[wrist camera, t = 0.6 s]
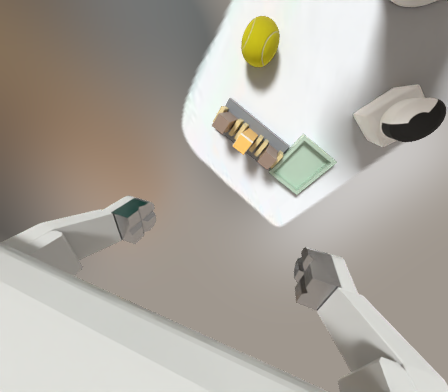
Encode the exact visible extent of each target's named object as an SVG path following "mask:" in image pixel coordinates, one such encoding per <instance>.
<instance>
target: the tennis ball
mask: <svg viewBox="0 0 448 392" xmlns="http://www.w3.org/2000/svg"><path fill="white" fill-rule="evenodd" d="M279 37H280V34H279V30H278V27H277V25H276V24H275V22H274V21H273V20H272V19H270V18H269V17H266V16H259V17H256V18H254V19H253V20H252V21H251V22H250V23H249V24H248V26H247V28H246V29H245V32H244V34H243V38H242V45H241V49H242V54H243V57H244V58H245V60H246V61H247V62H248V63H249V64H250V65H252V66H254V67H263V66H265V65H266V64H268V63H269V62H270V61H271V60H272V58H273V57H274V55H275V53H276V51H277V48H278V45H279Z"/></svg>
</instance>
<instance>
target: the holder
mask: <svg viewBox="0 0 448 392" xmlns="http://www.w3.org/2000/svg"><path fill="white" fill-rule="evenodd" d="M213 122H214V123H213V124H212V126H213V127H214V128H215V129H216V130H218V131H219V132H220V133H221V134H223V135H225V136H226V137H227V138H228V139H230V140H231V141H232V142H233V143H235V141H236V140H237V138H238V137H239V135H240V134H241V133H243V132H244V131H246V130H247V129H248V128H250V129H251V130H253V131H254V132H255V133H256V134H257V135H258V136H257V138H256V139H255V140H254V142H253V143H252V145H251V146H250V147H249V148H248V150H247V151H246V153H247V154H249V155H250V156H251V157H252V158H254V159H255V160H256V161H257V162H258V163H259V164H260V165H262V166H263V167H264V168H265V169H267V170H268V169H269V168H271V169H272V168H273V167H274V166H275V165H276V164H277V163H278V162H279V161H280V160H281V158H282V157H283V153H284V152H285V151H286V150H287V149H288V148H289V145H288V144H287V143H285V142H284V141H283V140H282V139H281V138H279V137H278V136H277V135H276V134H274V133H273V132H272V131H271V130H270V129H268V128H267V127H266V126H265V125H263V124H262V123H261V122H260V121H259V120H257V119H256V118H255V117H254V116H252V115H251V114H250V113H249V112H248V111H246V110H245V109H244V108H243V107H241V106H240V105H239V104H238V103H237V102H235V101H234V100H233V99H232V98H230V99H229V100H228V102H227V104H226V106H221V108H220V110H219V112H218V113H217V115H216V117H215V119H214V121H213Z"/></svg>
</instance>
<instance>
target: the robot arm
mask: <svg viewBox="0 0 448 392" xmlns="http://www.w3.org/2000/svg"><path fill="white" fill-rule="evenodd" d="M390 1H392V2H393V3H395V4H397V5H399V6H403V7H418V6H423V5H427V4H430V3H433V2H435V1H438V0H390ZM153 210H154V204H153V203H151V202H149V201H145V200H142V199H139V198H135V197H132V196H126V197H124V198H122V199H120V200H119V201H117V202H115V203H114V204H112V205H110V206H108V207H107V208H105V209H103V210H96V211H92V212H87V213H83V214H78V215H74V216H70V217H65V218H61V219H57V220H52V221H48V222H44V223H40V224H38V225H36V226H34V227H32V228H30V229H28V230H26V231H24V232H22V233H20V234H18V235H16V236H14V237H12V238H9V239H8V240H6V241H4V242H1V243H0V392H329V391H327V390H325V389H323V388H320V387H318V386H316V385H314V384H312V383H309V382H307V381H305V380H303V379H300V378H298V377H296V376H294V375H292V374H290V373H287V372H285V371H283V370H281V369H279V368H276V367H274V366H272V365H270V364H267V363H265V362H263V361H261V360H259V359H256V358H254V357H252V356H250V355H248V354H245V353H243V352H241V351H239V350H237V349H234V348H232V347H230V346H228V345H225V344H223V343H221V342H219V341H217V340H215V339H212V338H210V337H208V336H206V335H203V334H201V333H199V332H197V331H195V330H193V329H190V328H188V327H186V326H184V325H181V324H179V323H177V322H175V321H173V320H170V319H168V318H166V317H164V316H162V315H159V314H157V313H155V312H152V311H151V310H148V309H146V308H144V307H142V306H139V305H137V304H135V303H133V302H131V301H128V300H126V299H124V298H122V297H120V296H117V295H115V294H113V293H111V292H108V291H106V290H104V289H102V288H100V287H98V286H95V285H93V284H91V283H88V282H86V281H84V280H82V279H80V278H78V277H76V276H75V275H76V274H77V273H78V272H79V271H81V270H82V267H83V266H82V265H81V263H80V261H79V260H81V259H83V258H85V257H87V256H90V255H92V254H94V253H96V252H98V251H100V250H102V249H104V248H107V247H109V246H111V245H113V244H115V243H118V242H120V241H121V240H124V241H127V242H130V243H133V244H136V243H137V242H138V241H139V240H140V239H141V238H142V237H143V236H144V232H146V231H149V230H150V229H151V228H152V227H153V226H154V224H155V222H156V215H155V213H154V212H153ZM301 254H302V257H301V258H298V259H297V261H296V264H295V268H294V279H295V280H296V282H297V285H296V287H295V295H296V303H299V304H301V305H304V306H307V307H309V308H312V309H314V310H317V313H318V315H319V316H320V318H321V320H322V322H323V323H324V325H325V327H326V329H327V330H328V332H329V334H330V336H331V337H332V339H333V341H334V343H335V344H336V346H337V348H338V350H339V352H340V353H341V355H342V357H343V359H344V360H345V362H346V364H347V366H348V367H349V369H350V371H351V373H349V374H347V375H345V376H343V377H341V378H340V379H339V380H338V385H339V389H340V392H448V386H447V384H446V382H445V380H444V379H443V378H442V377H441V376H440V375H439V374H438V373H437V372H436V371H435V370H434V369H433V368H432V367H431V366H430V365H429V364H428V363H427V362H426V361H425V360H424V358H423V357H422V356H421V355H420V354H419V353H418V352H417V351H416V350H415V349H414V348H413V347H412V346H411V345H410V344H409V343H408V342H407V341H406V340H405V339H404V338H403V337H402V336H401V335H400V334H399V333H398V332H397V330H396V329H395V328H394V327H393V326H392V325H391V324H390V323H389V322H388V321H387V320H386V319H385V318H384V317H383V316H382V315H381V314H380V313H379V312H378V311H377V310H376V309H375V308H374V307H373V306H372V305H371V304H370V303H369V301H368V300H367V299H366V298H365V297H364V296H363V295H360V294H358V292H357V290H356V287H355V285H354V282H353V280H352V277H351V275H350V273H349V270H348V268H347V265H346V263H345V261H344V259H343V258H342V257H339V256H336V255H332V254H327V253H324V252H321V251H317V250H314V249H310V248H307V247H305V248H304V249H303V250H302V253H301Z"/></svg>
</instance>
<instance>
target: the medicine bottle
mask: <svg viewBox="0 0 448 392" xmlns="http://www.w3.org/2000/svg"><path fill="white" fill-rule="evenodd" d="M445 115H446V107H445V105H444V103H443V102H442V101H441V100H439V99H436V98H425V96H424V94H423V92H422V90H421V87H420V85H418V84H416V85H409V86H401V87H394V88H392V89H390V90H389V91H387V92H386V93H384V94H382V95H381V96H379V97H378V98H376V99H375V100H373V101H372V102H370V103H369V104H367V105H365V106H364V107H362V108H361V109H359V110H358V111H356V112H355V113H353V117H354V118H355V120H356V122H357V124H358V126H359V127H360V129H361V131H362V133H363V134H364V136H365V138H366V140H367V141H370V142H372V143H374V144H376V145H378V146H381V147H385V146H387V145H389V144H391V143H393V142H395V141H397V140H398V141H401V142H412V141H416V140H419V139H422V138H424V137H426V136H427V135H429V134H431V133H432V132H434V131H435V130H436V129H437V128H438V127H439V126H440V125H441V123H442V122H443V120H444V118H445Z"/></svg>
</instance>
